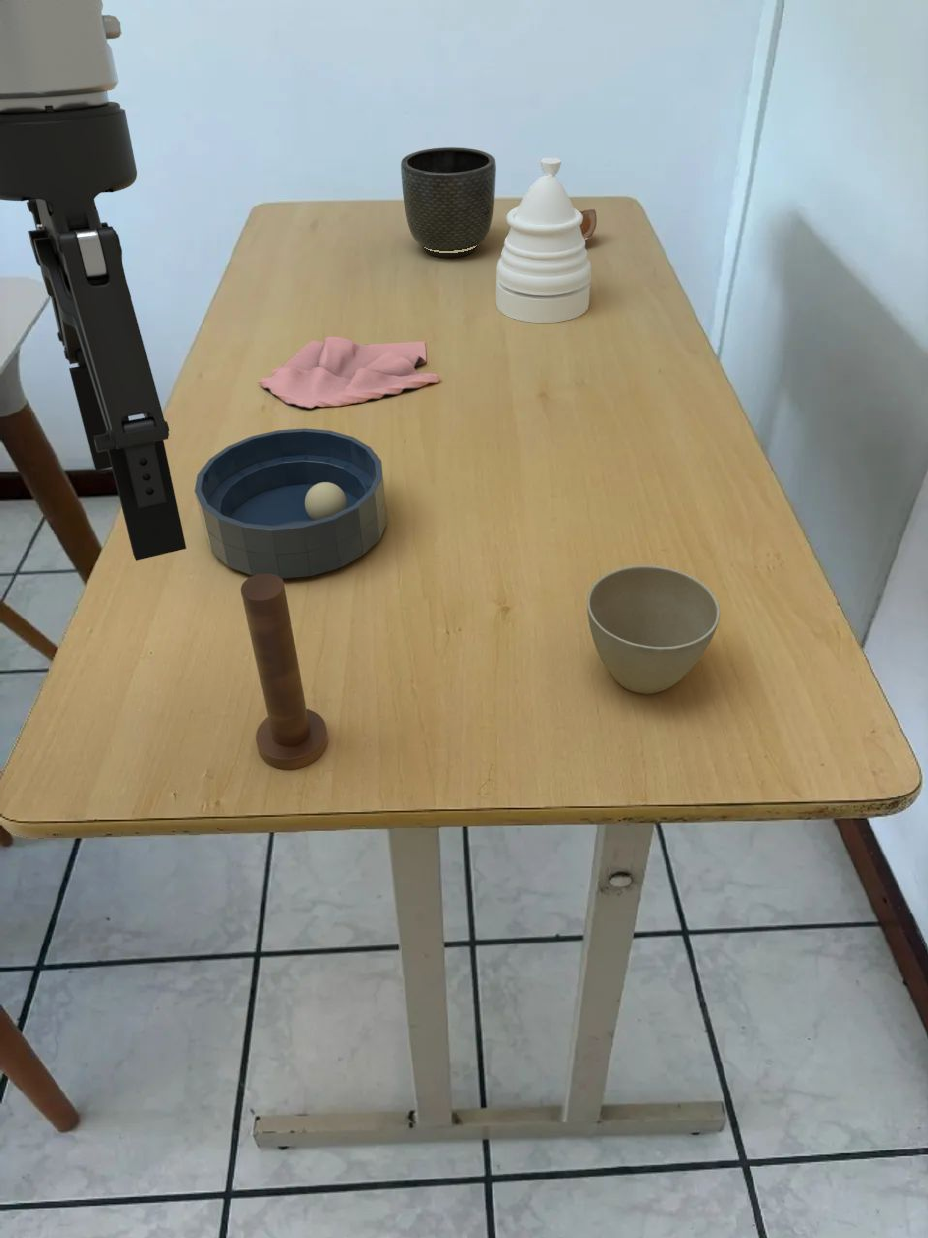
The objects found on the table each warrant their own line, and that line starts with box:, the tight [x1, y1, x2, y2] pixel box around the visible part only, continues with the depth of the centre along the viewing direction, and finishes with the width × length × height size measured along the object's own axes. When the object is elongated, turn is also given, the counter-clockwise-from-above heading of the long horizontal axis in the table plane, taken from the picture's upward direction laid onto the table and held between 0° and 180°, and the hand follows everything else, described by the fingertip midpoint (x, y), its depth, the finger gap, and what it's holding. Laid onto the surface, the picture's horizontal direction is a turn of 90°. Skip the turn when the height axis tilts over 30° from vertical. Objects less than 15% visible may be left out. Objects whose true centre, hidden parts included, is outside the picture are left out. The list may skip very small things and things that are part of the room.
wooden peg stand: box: [240, 574, 329, 770], centre depth 67 cm, size 5×5×15 cm
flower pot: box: [586, 564, 721, 695], centre depth 75 cm, size 10×10×7 cm
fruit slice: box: [579, 208, 598, 239], centre depth 148 cm, size 8×7×5 cm
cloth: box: [257, 336, 440, 410], centre depth 117 cm, size 20×22×2 cm
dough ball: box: [305, 482, 347, 521], centre depth 92 cm, size 4×4×4 cm
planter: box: [400, 146, 497, 259], centre depth 144 cm, size 14×14×13 cm
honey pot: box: [495, 157, 592, 324], centre depth 127 cm, size 13×13×18 cm
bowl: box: [194, 427, 388, 580], centre depth 91 cm, size 17×17×6 cm
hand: (136, 504), depth 57 cm, fingers open, 13 cm apart
